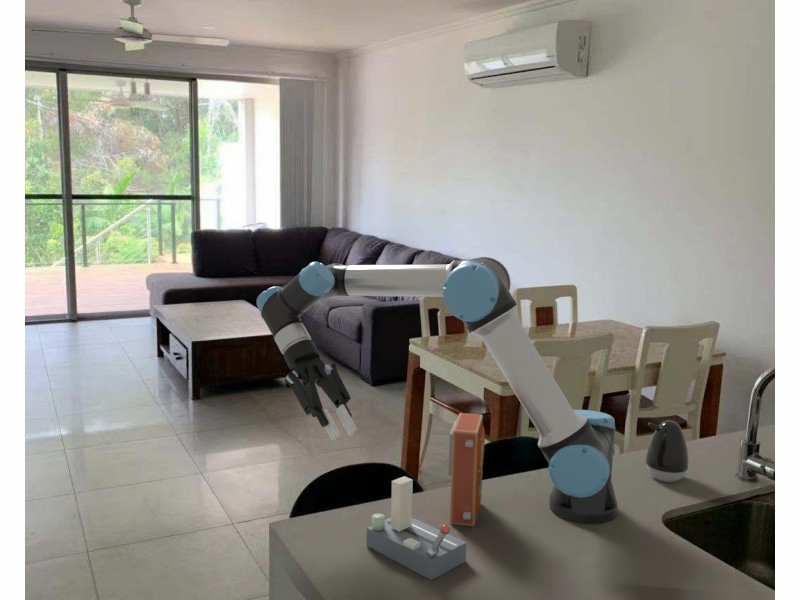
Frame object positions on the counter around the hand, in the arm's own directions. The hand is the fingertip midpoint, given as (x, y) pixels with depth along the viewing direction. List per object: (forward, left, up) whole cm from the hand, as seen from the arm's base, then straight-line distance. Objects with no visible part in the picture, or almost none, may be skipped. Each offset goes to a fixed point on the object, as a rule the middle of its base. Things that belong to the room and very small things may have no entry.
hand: (344, 434), depth 161 cm
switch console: (-17, +14, -19) cm, 29 cm away
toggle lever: (-20, +22, -15) cm, 33 cm away
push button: (-9, +12, -15) cm, 21 cm away
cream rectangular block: (-14, +11, -15) cm, 23 cm away
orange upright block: (-27, -6, -19) cm, 33 cm away
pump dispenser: (-78, -32, -19) cm, 86 cm away
